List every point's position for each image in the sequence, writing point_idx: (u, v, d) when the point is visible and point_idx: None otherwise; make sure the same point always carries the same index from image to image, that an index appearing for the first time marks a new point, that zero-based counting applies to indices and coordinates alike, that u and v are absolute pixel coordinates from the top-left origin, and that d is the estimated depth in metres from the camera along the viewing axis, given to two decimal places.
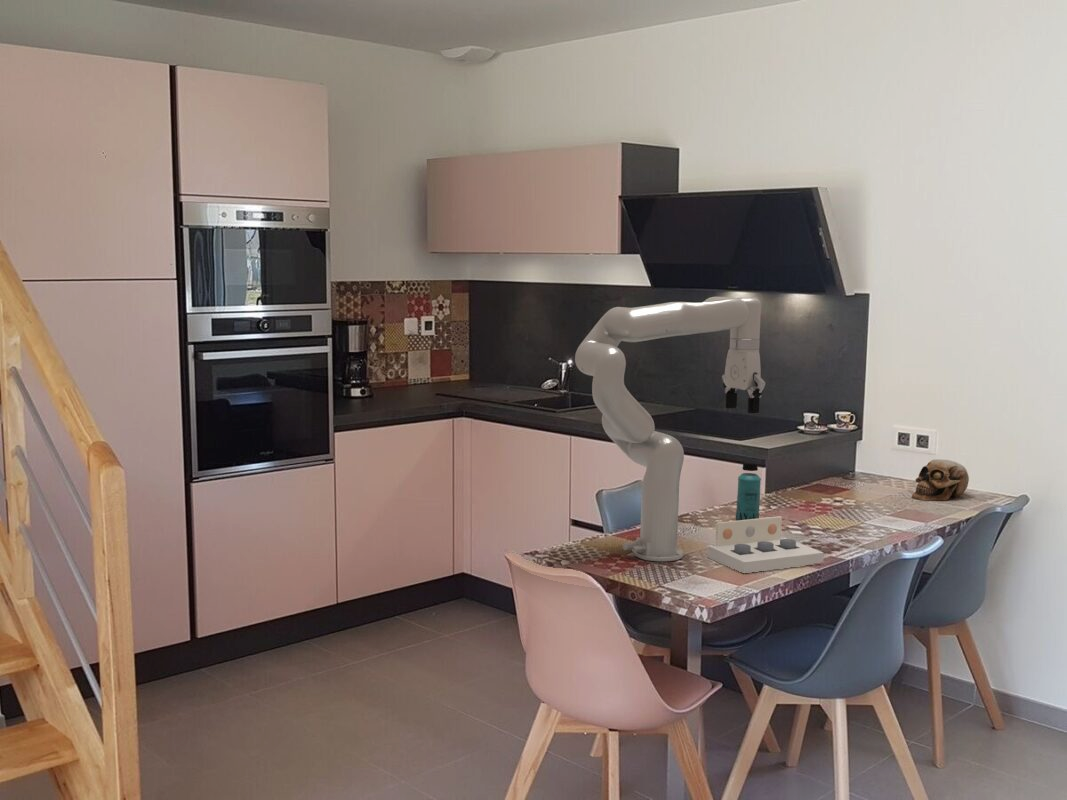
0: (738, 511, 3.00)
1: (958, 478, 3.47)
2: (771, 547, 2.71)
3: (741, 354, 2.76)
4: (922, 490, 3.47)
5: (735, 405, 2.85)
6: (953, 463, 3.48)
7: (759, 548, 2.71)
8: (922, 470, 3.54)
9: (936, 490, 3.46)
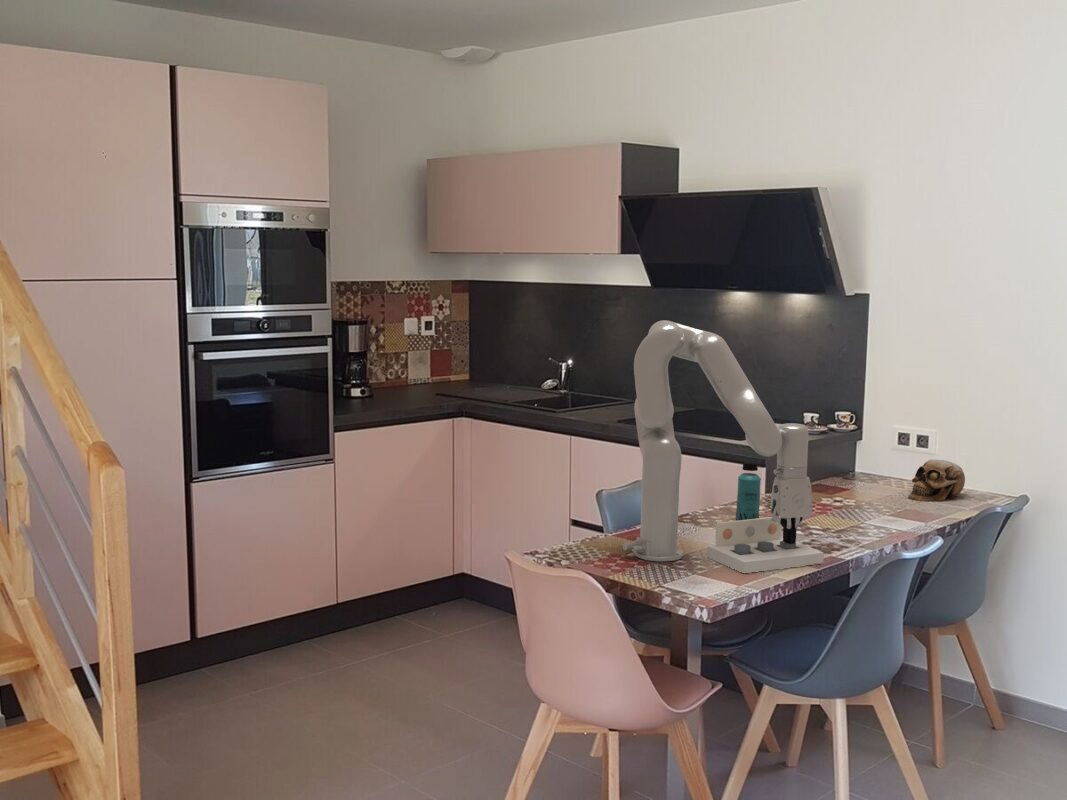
0: (738, 511, 3.00)
1: (954, 478, 3.46)
2: (771, 547, 2.71)
3: (804, 481, 2.72)
4: (918, 490, 3.46)
5: None
6: (949, 463, 3.48)
7: (759, 548, 2.71)
8: (918, 470, 3.53)
9: (932, 490, 3.46)
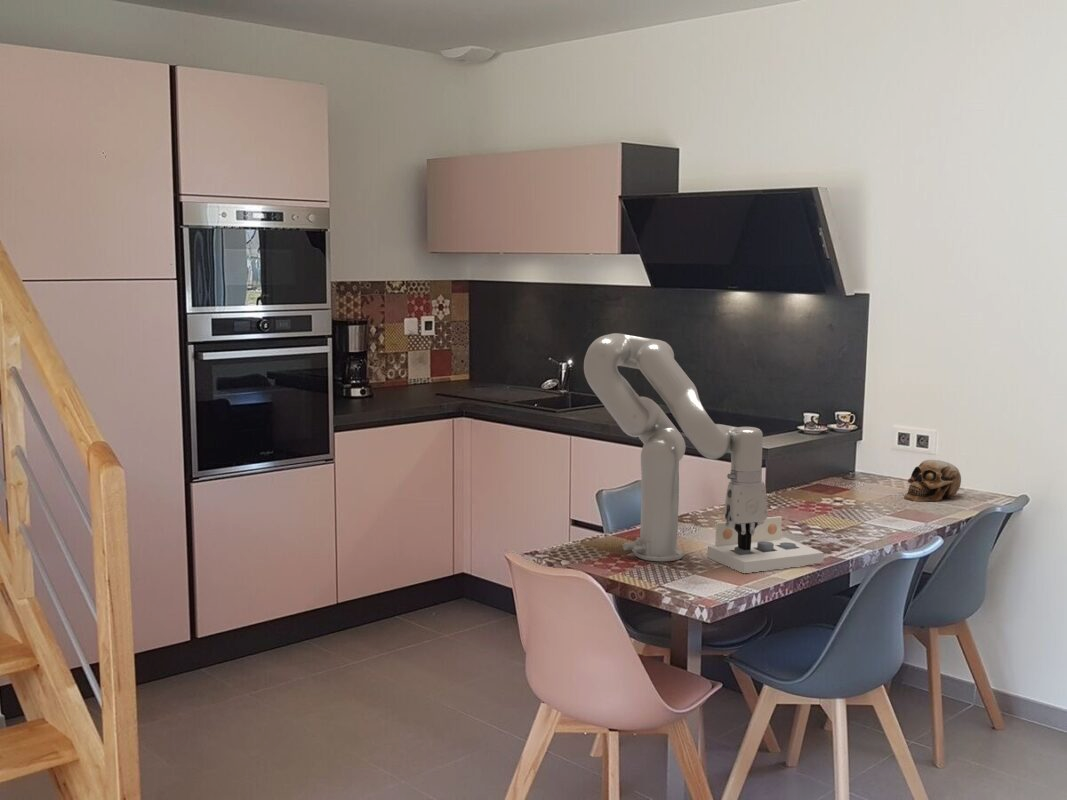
0: None
1: (950, 478, 3.45)
2: (771, 547, 2.71)
3: (759, 486, 2.66)
4: (914, 490, 3.46)
5: None
6: (945, 463, 3.47)
7: (759, 548, 2.71)
8: (914, 471, 3.53)
9: (928, 491, 3.45)
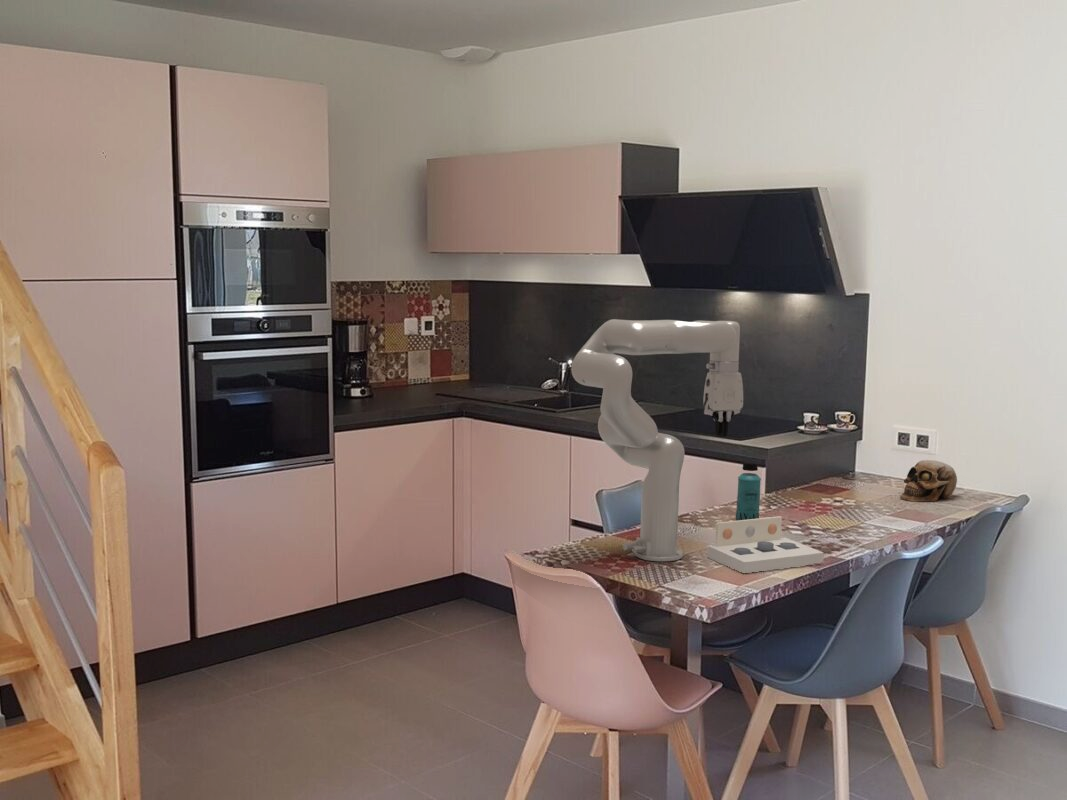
0: (738, 511, 3.00)
1: (946, 479, 3.45)
2: (771, 547, 2.71)
3: (736, 376, 2.83)
4: (910, 491, 3.45)
5: None
6: (941, 464, 3.47)
7: (759, 548, 2.71)
8: (910, 471, 3.52)
9: (924, 491, 3.45)
